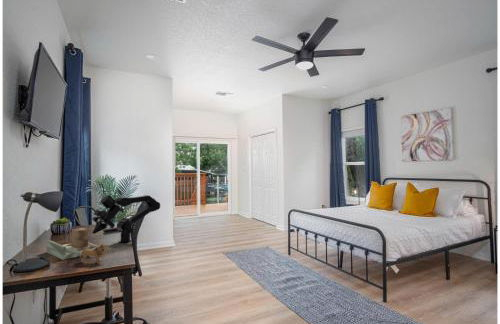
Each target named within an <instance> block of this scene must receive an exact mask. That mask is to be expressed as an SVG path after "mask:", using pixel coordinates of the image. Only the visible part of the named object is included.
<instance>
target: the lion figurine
mask: <svg viewBox="0 0 500 324" xmlns="http://www.w3.org/2000/svg"><path fill="white" fill-rule="evenodd" d="M98 246H99V247H97V248H96V249H94V250H89V249H85V250H83V251H82V253H81V255H80V256H79V258H78V260H76V261H75V262H76V263H79V262H81V263H83V264H84V265H85V264H87V263H88V262H87V261H86V258H87V256H88V257H89V258H95V261H96V264H100V262H101V260H100V258H101V257H104V255H105V254H107V253H108V251H109V247H108V246H109V245H107V244H106V243H103V244H100V245H98ZM82 254H83V256H82Z"/></svg>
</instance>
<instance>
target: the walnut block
mask: <svg viewBox="0 0 500 324" xmlns="http://www.w3.org/2000/svg"><path fill="white" fill-rule="evenodd" d="M71 243H72V246H71V247H74V248H83V247H88V243H89V228H85V227H80V228H72V229H71Z"/></svg>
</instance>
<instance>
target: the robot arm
mask: <svg viewBox="0 0 500 324" xmlns="http://www.w3.org/2000/svg"><path fill="white" fill-rule="evenodd" d="M143 202H144V203H145V204H146V206H145V207H144V208H143V209H141V210H140V211H138V212H136V213H134V214H133V215H132V216H130V217H123V218H121V219H120V220H118V222H117V223H116V229H117V230H118V232H119V233H120V240H119V241H118V243H122V244H123V243H126V244H127V243H130V242H132V241H133V239H131V234H132V233H133V232H134V228H132V226H133V225H134V224H135V223H136V222H138V221H140V220H141V219H143V218H144V217H145V216H147V215H148V214H150V213H153V212H155V211H158V210H160V208H161V203H160V202H159V201H157V200H156V199H154V198H153V197H151V196H150V195H149V194H148V195H147V194H145V195H141V196H140V195H139V196H134V197H126V196H125V197H123V196H120V197H117V199H114V198H113V197H112V196H111V194H110V195H109V194H107V195H106V196H104V197H103V198H101V199H100V201H99V203H100V204H101V205H102V206H104V207H105V209H108V210H107V211H106V210H104V209H102V210H99V209H95V210H94V212H93V217H92V218H91V220H92V221H93V222H94V223H95V226H94V229H93V231H92V234H93V235H95V234H97V233H98V232H99V233H100V232H101V231H103V230H105V229H106V230H107V229H108V226H109V229H113V228H115V223H114V221H113V220H114V219H116V216H117V215H118V214H119V212H120V213H124V208H123V207H127V206H130V205H132V204H136V203H143Z"/></svg>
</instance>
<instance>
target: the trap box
mask: <svg viewBox="0 0 500 324" xmlns="http://www.w3.org/2000/svg"><path fill="white" fill-rule="evenodd" d="M71 246H72V242H71V243H66V244H61V243H57V242H56V241H53V240H50V239H49V240H46V253H47V254H49V255H52V256H54V257H56V258H58V259H60V260H62V261H64V260H68V259H74V258H77V257H80V255H81V253H82V251H83V250H85V249H89V250H94V249H96V248H97V247H99V246H100V245H97V244H94V243H91V242H88V247H83V248H74V247H71ZM81 257H83V254H82V256H81Z"/></svg>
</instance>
